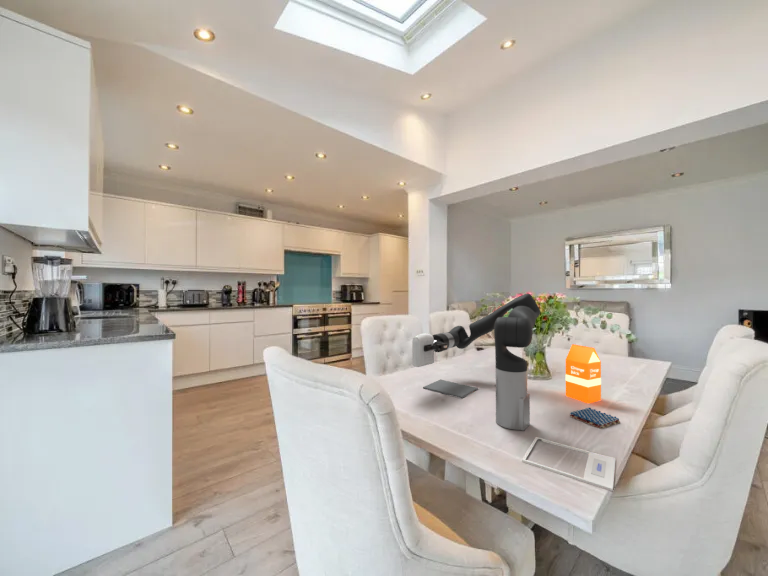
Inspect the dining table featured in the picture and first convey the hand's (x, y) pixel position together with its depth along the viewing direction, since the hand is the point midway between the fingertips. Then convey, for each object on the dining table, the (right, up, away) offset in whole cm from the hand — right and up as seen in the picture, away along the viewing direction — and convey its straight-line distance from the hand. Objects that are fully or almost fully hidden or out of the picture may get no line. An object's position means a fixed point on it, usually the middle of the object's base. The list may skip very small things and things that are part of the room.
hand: (419, 348), depth 120 cm
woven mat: (+54, -20, -21) cm, 61 cm away
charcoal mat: (+14, -19, +10) cm, 26 cm away
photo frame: (+32, -20, -44) cm, 58 cm away
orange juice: (+62, -19, -2) cm, 65 cm away
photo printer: (+2, -7, +2) cm, 8 cm away
